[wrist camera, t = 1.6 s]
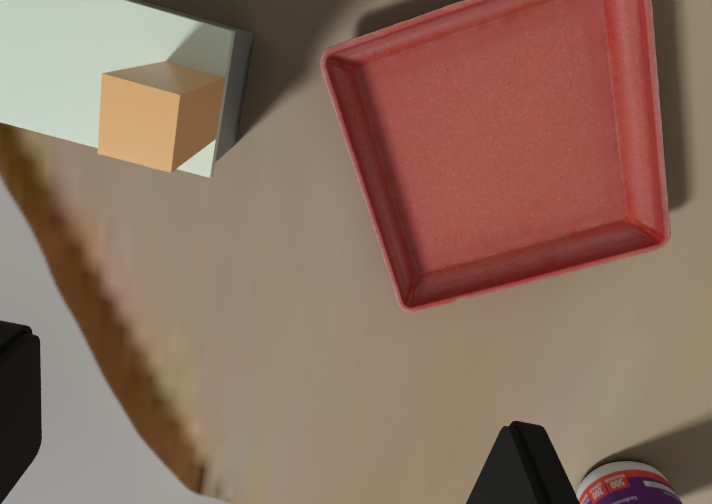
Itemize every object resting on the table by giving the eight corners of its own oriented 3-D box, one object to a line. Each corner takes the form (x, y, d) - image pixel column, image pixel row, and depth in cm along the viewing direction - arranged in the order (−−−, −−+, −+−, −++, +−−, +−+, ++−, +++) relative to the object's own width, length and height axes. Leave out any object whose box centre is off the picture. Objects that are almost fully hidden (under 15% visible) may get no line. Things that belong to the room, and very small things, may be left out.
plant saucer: (319, 49, 31) (313, 52, 28) (620, -58, 28) (649, -67, 25) (399, 293, 38) (402, 316, 35) (647, 227, 35) (673, 246, 32)
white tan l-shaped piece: (1, -38, 24) (-143, -60, 18) (237, 30, 25) (187, 34, 18) (5, 116, 28) (-116, 148, 21) (215, 172, 28) (165, 220, 22)
